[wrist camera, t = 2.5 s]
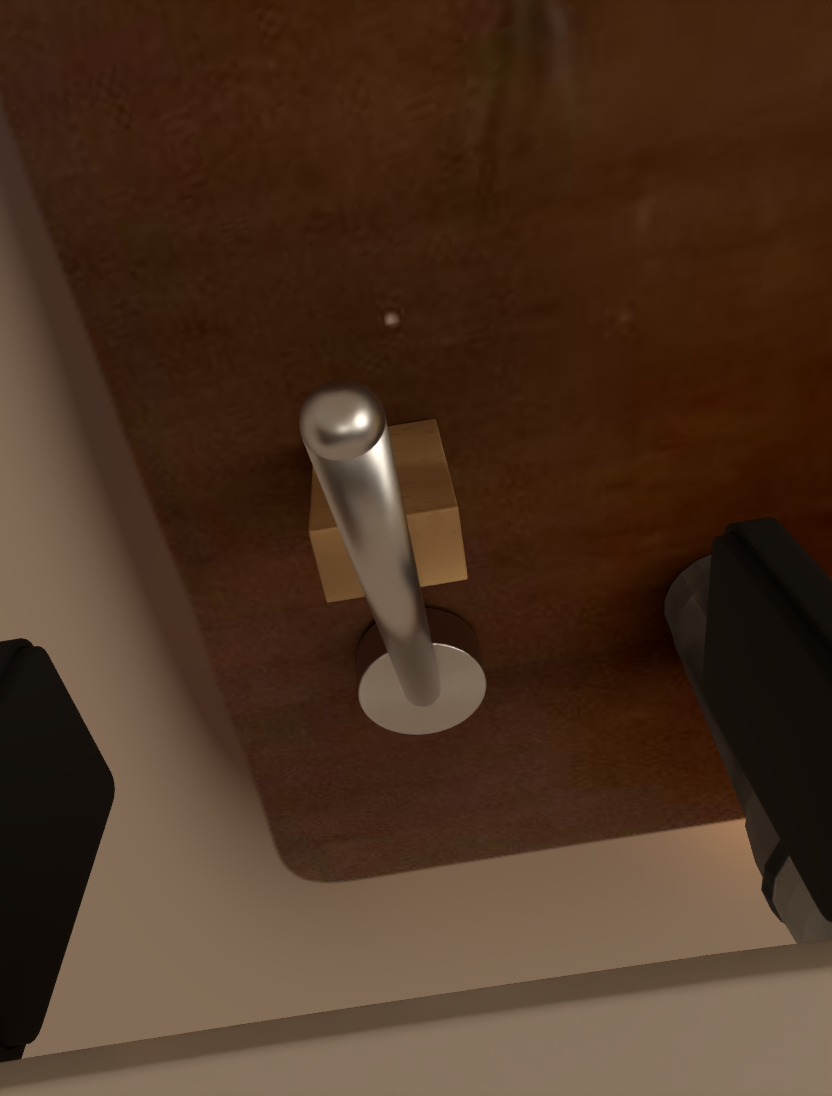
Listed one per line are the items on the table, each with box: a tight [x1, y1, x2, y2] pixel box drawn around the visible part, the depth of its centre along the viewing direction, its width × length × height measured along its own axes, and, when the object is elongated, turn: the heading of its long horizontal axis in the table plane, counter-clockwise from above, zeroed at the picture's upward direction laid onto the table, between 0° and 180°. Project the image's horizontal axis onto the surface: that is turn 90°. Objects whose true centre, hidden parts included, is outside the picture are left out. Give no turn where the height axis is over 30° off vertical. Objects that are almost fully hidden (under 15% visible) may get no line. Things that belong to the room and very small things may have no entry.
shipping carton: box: [309, 419, 468, 602], centre depth 23 cm, size 2×4×6 cm, turn 98°
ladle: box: [299, 379, 486, 735], centre depth 22 cm, size 19×5×12 cm, turn 8°
